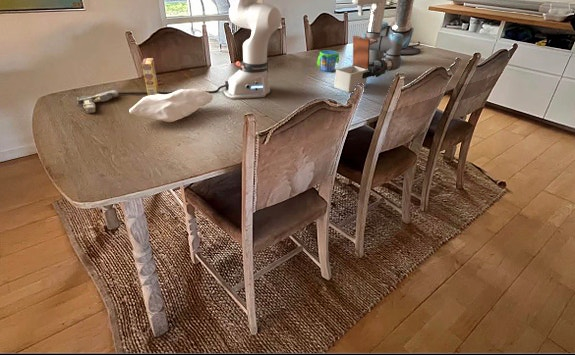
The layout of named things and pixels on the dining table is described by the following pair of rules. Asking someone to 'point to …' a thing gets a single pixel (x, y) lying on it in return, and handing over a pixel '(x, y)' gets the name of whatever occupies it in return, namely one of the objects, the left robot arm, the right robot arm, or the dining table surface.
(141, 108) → the crumpled cloth
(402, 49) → the grey round tray
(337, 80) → the chest
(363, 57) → the lid
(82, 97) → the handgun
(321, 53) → the snack cup
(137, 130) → the dining table surface
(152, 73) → the candy box
